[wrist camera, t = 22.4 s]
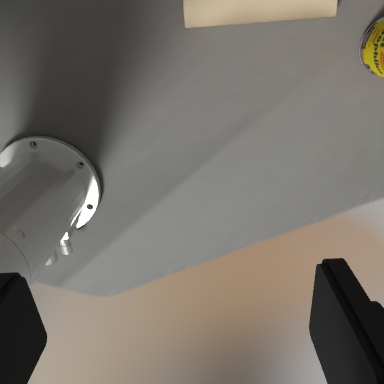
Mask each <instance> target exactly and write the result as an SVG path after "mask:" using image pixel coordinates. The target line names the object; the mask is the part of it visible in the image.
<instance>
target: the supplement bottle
mask: <svg viewBox="0 0 384 384" xmlns="http://www.w3.org/2000/svg"><path fill="white" fill-rule="evenodd" d="M359 54H360V60H361V62H362V64H363V66H364V67H365V69H366V70H368V71H369V72H370V73H372V74H375V75H378V76H382V77H384V17H382V18H380V19H379V20H377V21H376V22H375V23H373V24H372V25H371V26H370V27H369V28H368V30H367V31H366V33H365V34H364V36H363V38H362V40H361V44H360V49H359Z"/></svg>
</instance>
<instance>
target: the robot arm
mask: <svg viewBox="0 0 384 384" xmlns="http://www.w3.org/2000/svg"><path fill="white" fill-rule="evenodd" d="M35 142H36V143H35ZM81 162H82V163H83V164H82V163H81ZM100 197H101V186H100V181H99V178H98V175H97V173H96V171H95V169H94V167H93V166H92V164H91V163H90V161H89V160H88V159H87V158H86V157H85V156H84V155H83V153H81V152H80V151H79V150H77V149H76V148H75V147H74V146H72V145H70V144H68V143H66V142H64V141H62V140H59V139H56V138H53V137H47V136H30V137H25V138H22V139H19V140H17V141H15V142H13V143H12V144H10V145H9V146H7V147H6V148H5V149H4V150H3V151H2V152H1V153H0V384H27V383H28V381H29V379H30V377H31V375H32V373H33V370H34V368H35V366H36V364H37V362H38V360H39V358H40V356H41V354H42V352H43V350H44V348H45V346H46V342H47V333H46V331H45V328H44V325H43V323H42V320H41V317H40V315H39V312H38V309H37V307H36V304H35V301H34V299H33V296H32V293H31V291H30V287H31V286H32V284H33V283H34V281H35V280H36V278H37V277H38V275H39V274H40V272H41V271H42V269H43V268H44V266H45V265H50V264H53V263H55V262H56V261H57V260H58V255H57V252H56V248H57V246H58V245H59V246H60V250H61V253H62V254H63V255H68V254H70V253H72V252H73V248H72V245H71V242H70V240H69V236H70V235H71V233H72V232H73V230H74V229H77V228H79V227H81V226H82V225H84V224H86V223H87V222H88V221H89V220H90V219H91V218H92V216H93V215H94V213H95V211H96V209H97V207H98V205H99V202H100ZM91 204H92V205H91ZM309 330H310V336H311V339H312V342H313V344H314V347H315V350H316V353H317V356H318V358H319V361H320V364H321V366H322V369H323V372H324V375H325V378H326V380H327V383H328V384H384V308H383V307H382V306H381V304H380V303H378V302H377V301H370V299H369V297H368V296H367V294H366V293H365V291H364V290H363V288H362V286H361V285H360V283H359V281H358V280H357V278H356V277H355V275H354V274H353V272H352V270H351V269H350V267H349V266H348V264H347V262H346V261H345V260H344V259H343V258H337V259H336V258H335V259H324V260H323V261H322V264H317V266H316V273H315V282H314V290H313V298H312V307H311V315H310V324H309Z"/></svg>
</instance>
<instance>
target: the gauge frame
mask: <svg viewBox="0 0 384 384" xmlns="http://www.w3.org/2000/svg"><path fill="white" fill-rule="evenodd" d="M183 4H184V18H185V28H194V27H207V26H219V25H232V24H244V23H257V22H270V21H282V20H295V19H307V18H320V17H332V16H336V10H337V0H183Z"/></svg>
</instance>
